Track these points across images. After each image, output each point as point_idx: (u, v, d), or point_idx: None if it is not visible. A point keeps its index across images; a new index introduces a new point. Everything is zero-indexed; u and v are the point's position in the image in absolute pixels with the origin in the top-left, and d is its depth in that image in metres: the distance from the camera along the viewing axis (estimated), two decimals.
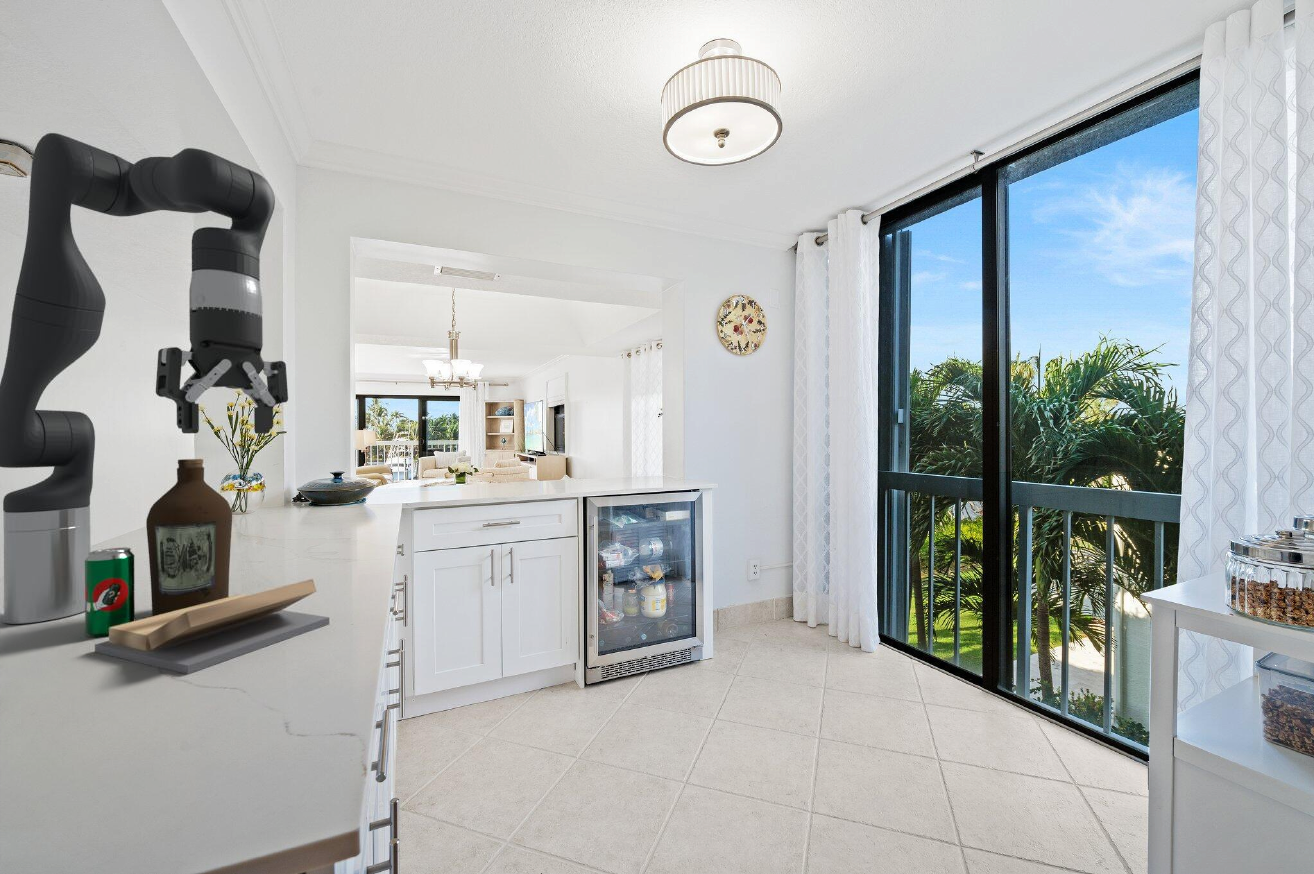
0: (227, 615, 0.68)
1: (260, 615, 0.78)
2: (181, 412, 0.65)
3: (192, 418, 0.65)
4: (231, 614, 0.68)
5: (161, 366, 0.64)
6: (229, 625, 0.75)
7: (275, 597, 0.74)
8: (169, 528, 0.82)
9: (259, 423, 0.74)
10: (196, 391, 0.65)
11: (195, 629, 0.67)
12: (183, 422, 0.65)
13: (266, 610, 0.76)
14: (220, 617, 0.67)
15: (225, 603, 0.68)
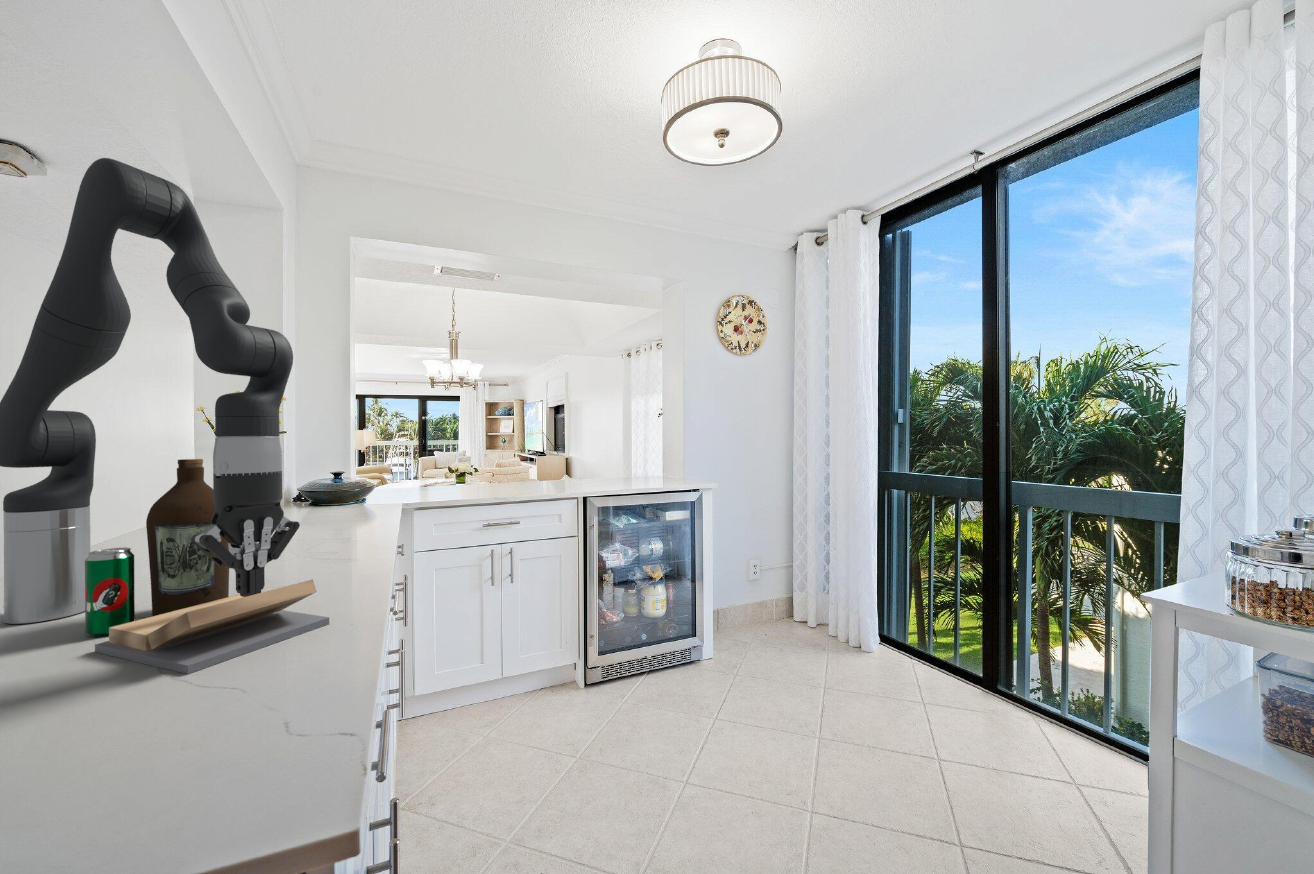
0: (227, 616, 0.68)
1: (260, 615, 0.78)
2: (240, 579, 0.71)
3: (250, 584, 0.71)
4: (231, 615, 0.68)
5: (206, 551, 0.68)
6: (229, 625, 0.75)
7: (275, 598, 0.74)
8: (169, 528, 0.82)
9: None
10: (248, 559, 0.71)
11: (195, 629, 0.67)
12: (242, 589, 0.71)
13: (266, 610, 0.76)
14: (220, 618, 0.67)
15: (225, 604, 0.68)
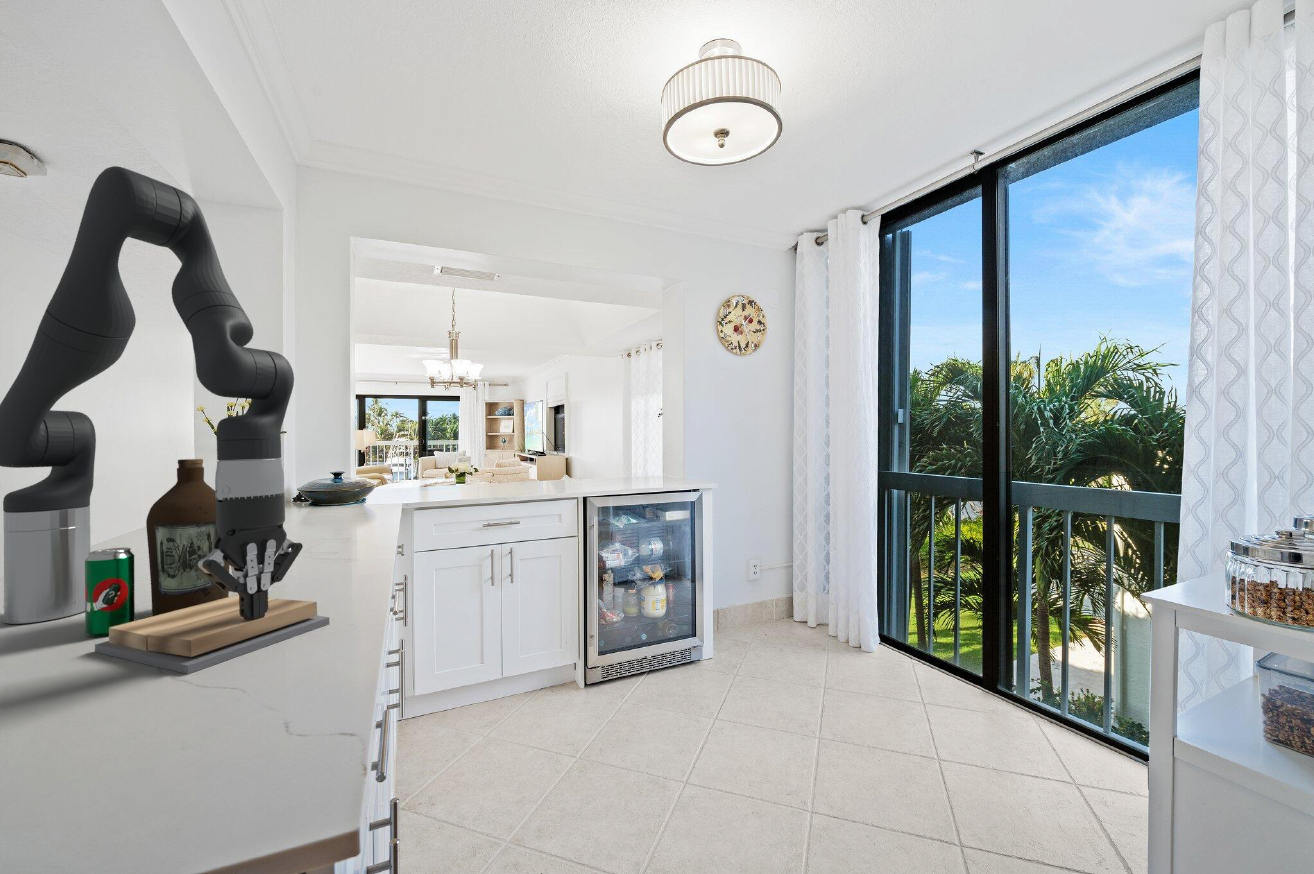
0: (228, 643, 0.68)
1: None
2: (243, 603, 0.71)
3: (253, 607, 0.71)
4: (232, 642, 0.68)
5: (209, 576, 0.68)
6: None
7: (277, 623, 0.74)
8: (169, 528, 0.82)
9: None
10: (251, 582, 0.71)
11: None
12: (246, 612, 0.71)
13: None
14: (221, 645, 0.67)
15: (229, 630, 0.68)
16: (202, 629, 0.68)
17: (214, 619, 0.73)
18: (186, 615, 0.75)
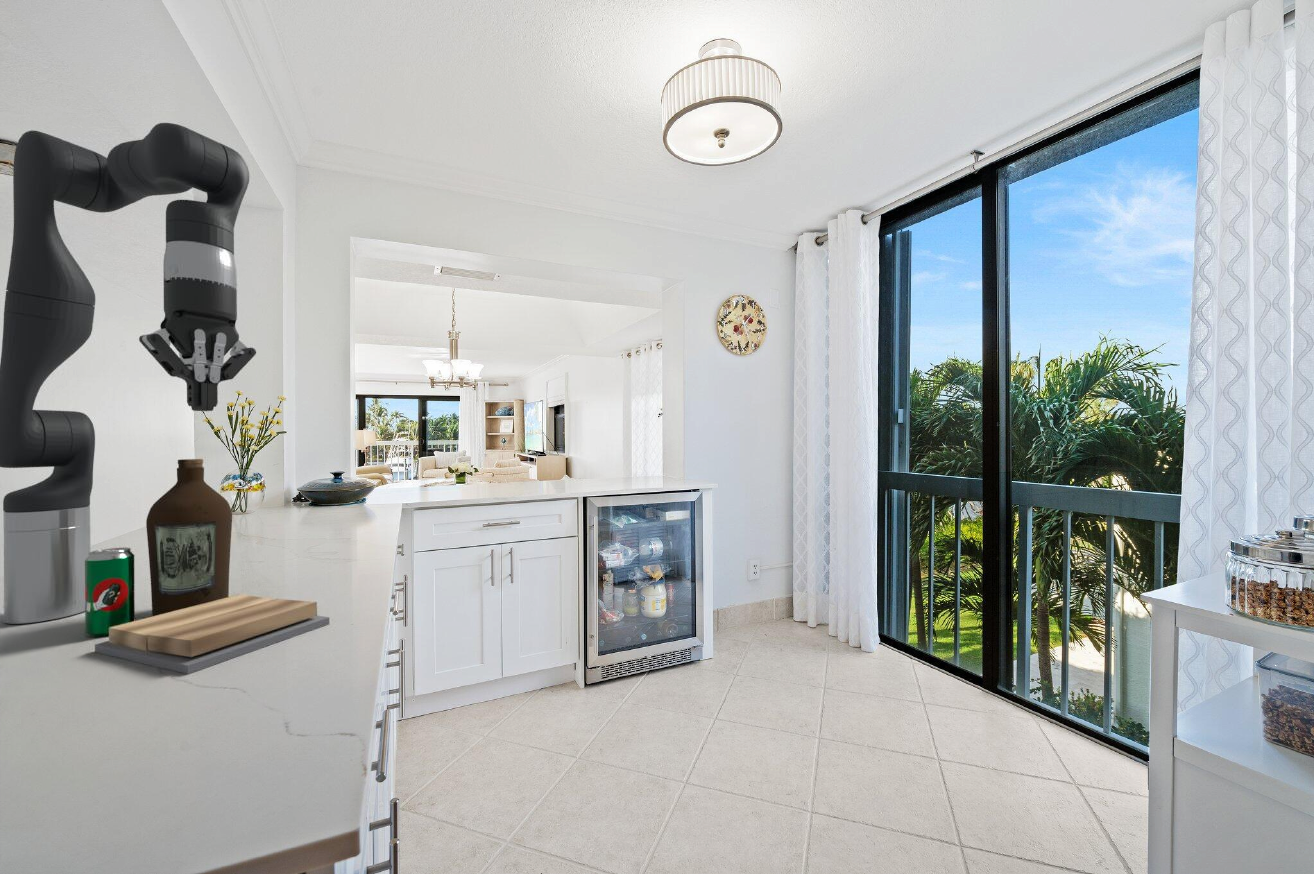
0: (228, 643, 0.68)
1: None
2: (191, 391, 0.70)
3: (201, 396, 0.70)
4: (232, 642, 0.68)
5: (155, 353, 0.67)
6: None
7: (277, 623, 0.74)
8: (169, 528, 0.82)
9: None
10: (199, 370, 0.70)
11: None
12: (193, 400, 0.70)
13: None
14: (221, 645, 0.67)
15: (229, 630, 0.68)
16: (202, 629, 0.68)
17: (214, 619, 0.73)
18: (186, 615, 0.75)
